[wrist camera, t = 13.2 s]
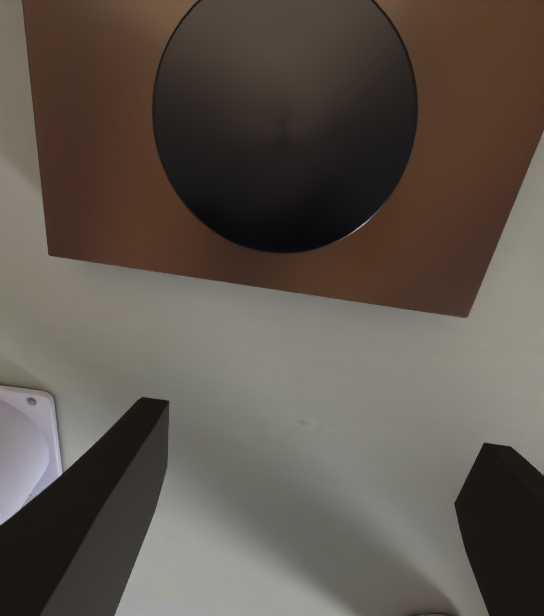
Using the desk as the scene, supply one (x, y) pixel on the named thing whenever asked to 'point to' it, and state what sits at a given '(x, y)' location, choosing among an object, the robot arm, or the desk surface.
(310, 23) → the spice tin
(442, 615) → the beer can
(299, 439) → the desk surface
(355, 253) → the wooden display base
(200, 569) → the desk surface
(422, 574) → the desk surface
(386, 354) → the desk surface
